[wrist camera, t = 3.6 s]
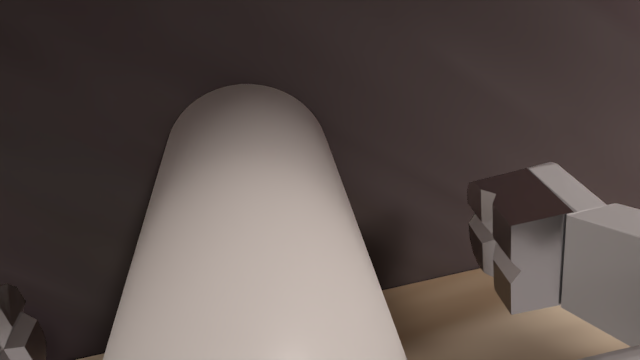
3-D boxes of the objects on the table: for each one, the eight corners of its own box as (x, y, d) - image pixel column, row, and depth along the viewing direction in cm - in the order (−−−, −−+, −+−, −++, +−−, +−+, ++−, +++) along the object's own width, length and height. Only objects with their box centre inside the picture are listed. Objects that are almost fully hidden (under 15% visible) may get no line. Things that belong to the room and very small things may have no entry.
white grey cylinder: (142, 103, 12) (-108, 634, 3) (313, 68, 12) (499, 486, 4) (192, 244, 14) (116, 814, 5) (339, 211, 14) (502, 715, 5)
